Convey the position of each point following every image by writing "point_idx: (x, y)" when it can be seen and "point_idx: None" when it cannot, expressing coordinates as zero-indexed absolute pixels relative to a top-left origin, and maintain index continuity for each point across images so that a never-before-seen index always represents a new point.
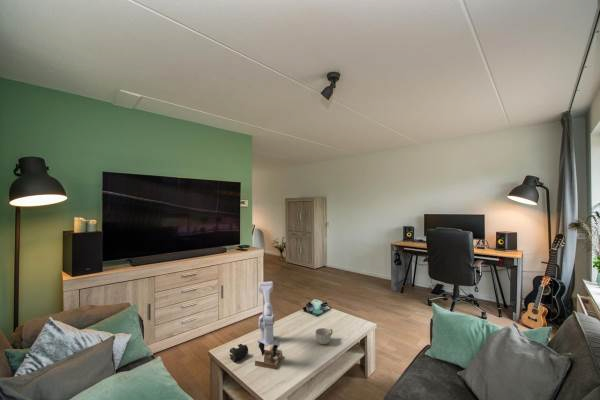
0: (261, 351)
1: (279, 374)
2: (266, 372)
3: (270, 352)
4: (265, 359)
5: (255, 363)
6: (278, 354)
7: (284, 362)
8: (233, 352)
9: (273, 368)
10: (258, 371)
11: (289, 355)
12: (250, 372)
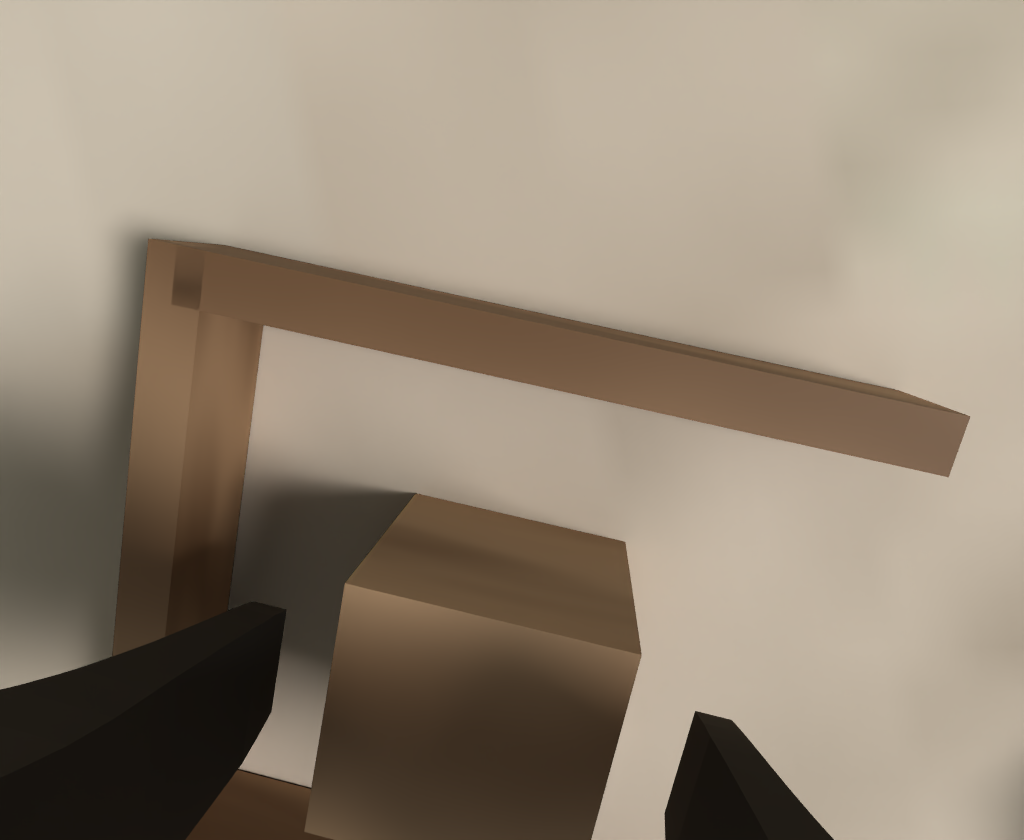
0: (807, 828)
1: (57, 17)
2: (462, 74)
3: (412, 834)
4: (577, 572)
5: (910, 399)
6: (231, 826)
7: (54, 552)
8: None
9: (277, 257)
10: (733, 101)
11: None
12: (1012, 21)
